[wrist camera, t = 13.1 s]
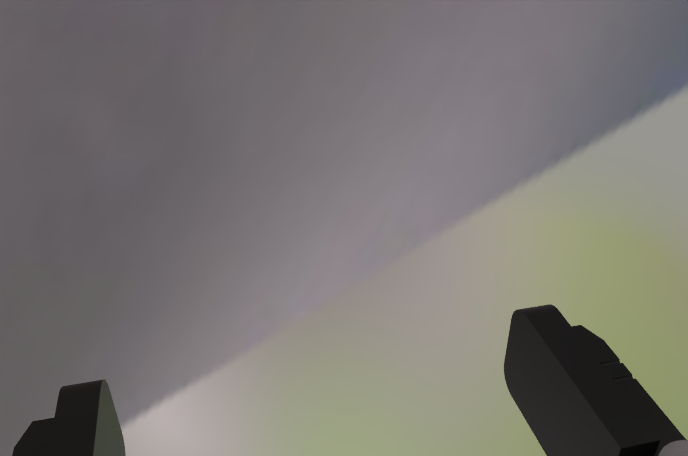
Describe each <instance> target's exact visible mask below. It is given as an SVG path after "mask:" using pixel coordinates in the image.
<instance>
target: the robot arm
mask: <svg viewBox="0 0 688 456" xmlns="http://www.w3.org/2000/svg"><path fill="white" fill-rule="evenodd" d="M504 374H505V380H506V384H507V387H508V389H509V392H510V394H511V396H512V397H513V399H514V401H515V402H516V404H517V406H518V408H519V409H520V411H521V413H522V414H523V416H524V418H525V419H526V421H527V423H528V424H529V426H530V428H531V430H532V431H533V433H534V435H535V436H536V438H537V440H538V441H539V443H540V445H541V446H542V448H543V450H544V451H545V453H546V455H547V456H688V440H686V439H685V438H684V437H683V435H682V434H681V433H680V432H679V431H678V429H677V428H676V427H675V426H674V425H673V423H672V422H671V421H670V420H669V419H668V417H667V416H666V415H665V414H664V413H663V411H662V410H661V409H660V408H659V406H658V405H657V404H656V403H655V402H654V400H653V399H652V398H651V397H650V396H649V395H648V393H647V392H646V391H645V390H644V389H643V387H642V386H641V385H640V384H639V382H638V381H637V380H636V379H633V377H632V374H631V373H630V371H629V370H628V369H627V368H626V367H625V366H624V364H623V363H620V361H619V358H618V357H617V356H616V355H615V353H614V352H613V351H612V350H611V349H610V347H609V346H608V345H607V344H606V342H605V341H604V340H602V339H601V338H599V337H598V336H596V335H595V334H594V333H592V332H590V331H589V330H587V329H586V328H584V327H583V326H581V325H578V326H573V327H571V326H570V324H569V323H568V322H567V321H566V319H565V318H564V317H563V315H562V314H561V313H560V312H559V310H558V309H557V308H556V307H555V306H553V305H544V306H538V307H531V308H525V309H519V310H516V311H514V313H513V315H512V319H511V325H510V331H509V338H508V343H507V349H506V355H505V363H504ZM12 456H125V446H124V440H123V435H122V431H121V428H120V424H119V421H118V417H117V414H116V411H115V407H114V404H113V400H112V397H111V393H110V390H109V387H108V384H107V382H106V380H99V381H93V382H87V383H81V384H75V385H69V386H63V387H62V388H61V389H60V392H59V396H58V402H57V407H56V413H55V418H50V419H44V420H39V421H33V422H32V423H31V424H30V426H29V427H28V429H27V430H26V432H25V433H24V434H23V436H22V437H21V439H20V440H19V441H18V443H17V444H16V446H15V447H14V451H13V455H12Z"/></svg>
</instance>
